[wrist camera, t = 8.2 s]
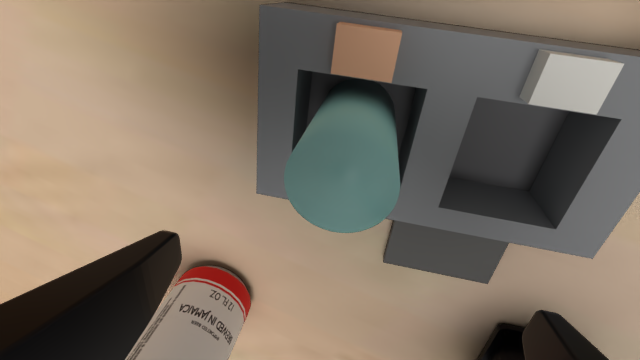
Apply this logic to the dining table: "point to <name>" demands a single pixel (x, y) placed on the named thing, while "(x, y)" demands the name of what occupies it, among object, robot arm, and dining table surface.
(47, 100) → the dining table surface
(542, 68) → the dock
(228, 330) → the beer can
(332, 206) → the plug
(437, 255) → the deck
